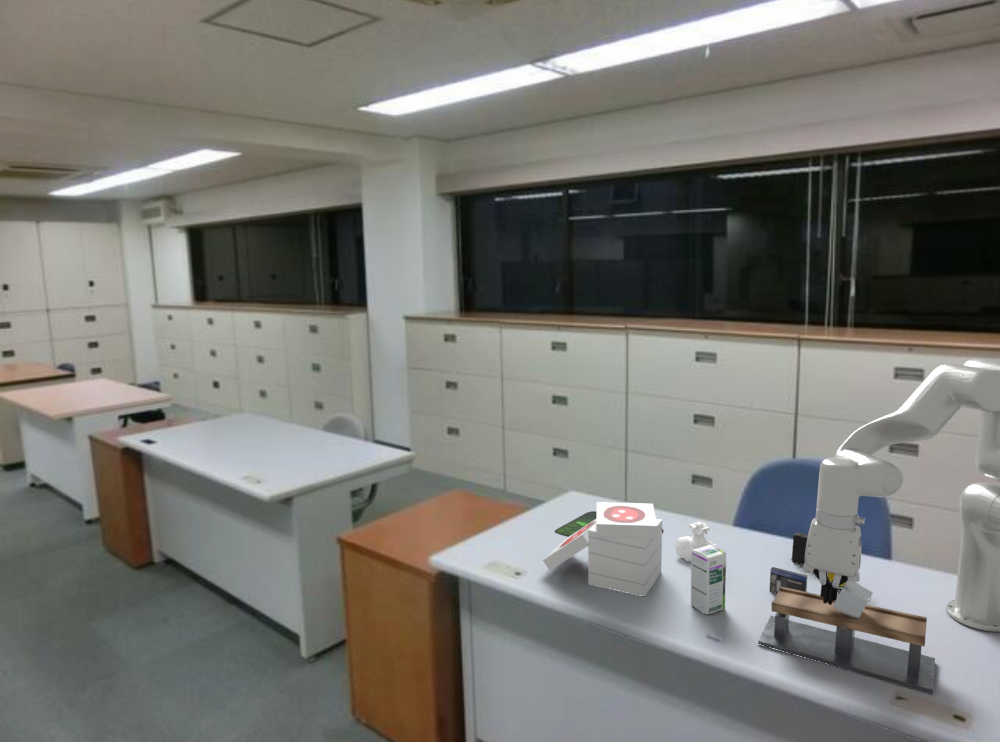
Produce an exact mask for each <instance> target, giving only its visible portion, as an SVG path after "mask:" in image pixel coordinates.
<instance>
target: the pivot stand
mask: <svg viewBox="0 0 1000 742" xmlns="http://www.w3.org/2000/svg"><path fill="white" fill-rule="evenodd" d="M835 627H836V629H835V631H831V630H829V629H826V628H820V627H817V626H813V625H810V624H806V623H801V622H798V621H794V620H790V615H786V614H782V613H778V612H775V615H770V617H769V618H768V621H767V622H766V625H765V626H764V629H763V630H762V632H761V634H760V636H759V639H758V641H757V642H758V644H761V645H764V646H767V647H771V648H775V649H778V650H781V651H784V652H783V653H785V652H788V653H791V654H790V655H792V654H795V655H799V656H802V657H806V658H809V659H813V660H816V661H820V662H823V663H827V664H829V665H828V666H830V665H833V666H832V667H834V666H836V667H835V668H837V667H840V668H839V669H841V668H843V669H842V670H844V669H845V671H848V670H850V671H849V672H851V671H853V672H852V673H855V674H858V673H859V674H858V675H862V676H866V677H869V678H873V679H877V680H880V681H883V682H887V683H889V684H890V683H891V684H894V685H896V686H897V685H898V686H901V687H905V688H908V689H912V690H915V691H918V692H922V693H926V694H929V695H934V687H935V686H934V684H935V664H936V658H935V657H933V656H932V657H931V656H927V655H924V654H922V647H923V646H920V645H916V644H911V643H909V648H908V650H905V649H901V648H898V647H893V646H890V645H886V644H883V643H878V642H874V641H870V640H867V639H863V638H859V637H856V636H855V632H856V631H855V630H851V629H847V631H846V632H843V631H841V629H840V627H838V626H835ZM764 646H763V647H764ZM767 647H766V648H767ZM771 648H770V649H771ZM778 650H777V651H778ZM781 651H780V652H781ZM788 653H787V654H788ZM795 655H794V656H795ZM799 656H798V657H799ZM802 657H801V658H802ZM806 658H805V659H806ZM809 659H808V660H809ZM813 660H812V661H813ZM816 661H815V662H816ZM820 662H819V663H820ZM823 663H822V664H823ZM827 664H826V665H827Z"/></svg>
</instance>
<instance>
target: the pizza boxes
mask: <svg viewBox="0 0 1000 742" xmlns="http://www.w3.org/2000/svg"><path fill="white" fill-rule="evenodd" d="M596 512H597V519H595V520H594V521H592V522H591V523H589V524H587V525H586V526H584V527H583V528H581V529H580V530H578V531H577V532H575V533H574V534H572V535H571V536H569V537H567V538H565V539H563V541H562V542H560V543H559V544H558V545H557V546H555V548H554V549H553V550H552V551H551V552H550V553H549V554H548V555H546V556H545V557H544V559H542V561H543V563H544V565H545V566H546V567H547V569H548V570H549V571H551V570H552V569H554V568H556V567H557V566H559V565H561V564H562V563H564V562H565V561H567V560H569V558H572V557H573V556H574V555H576V554H578V553H580V552H581V551H582V550H584V549H586V548H588V551H587V552H588V560H587V561H588V565H587V566H588V568H587V569H588V571H587V573H588V574H587V575H588V581H587V582H588V585H589V584H590V585H589V586H593V585H596V586H595V587H598V586H600V587H599V588H602V587H606V588H611V589H616V590H620V591H624V592H629V593H633V594H637V595H642V596H645V595H646V596H647V595H648V593H649V591H650V590H651V588H652V587H653V585H654V584H655V582H656V581H657V579H658V578H659V577H660V575H661V573H662V556H663V555H662V554H663V553H662V550H663V548H662V547H663V546H662V545H663V532H662V529H663V519H662V518H657V517H656V513H655V512H656V511H655V507H654V503H649V502H648V503H643V502H642V503H641V502H639V503H638V502H612V501H611V502H607V501H603V502H602V501H601V502H600V501H596ZM606 588H605V589H606ZM611 589H610V590H611ZM620 591H619V592H620ZM624 592H623V593H624ZM647 592H648V593H647ZM633 594H632V595H633ZM637 595H636V596H637ZM646 596H645V597H646Z"/></svg>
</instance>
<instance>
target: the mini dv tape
mask: <svg viewBox="0 0 1000 742" xmlns="http://www.w3.org/2000/svg"><path fill="white" fill-rule="evenodd" d="M769 575H770V576H769V592H772V593H775V594H777V593H778V591H779V587H785V588H790V589H795V590H799V591H804V592H808V591H807V590H808V589H807V587H808V575H807V574H802V573H799V572H795V571H791V570H787V569H784V568H783V569H782V568H778V567H776V566H772V567H771V568H770V574H769Z"/></svg>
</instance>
